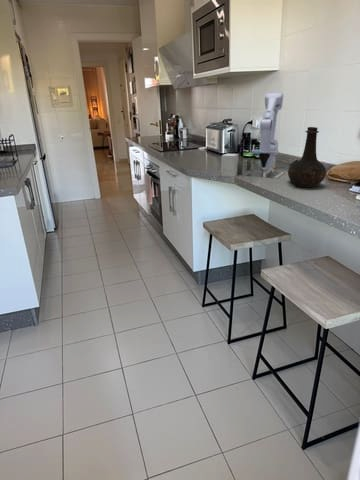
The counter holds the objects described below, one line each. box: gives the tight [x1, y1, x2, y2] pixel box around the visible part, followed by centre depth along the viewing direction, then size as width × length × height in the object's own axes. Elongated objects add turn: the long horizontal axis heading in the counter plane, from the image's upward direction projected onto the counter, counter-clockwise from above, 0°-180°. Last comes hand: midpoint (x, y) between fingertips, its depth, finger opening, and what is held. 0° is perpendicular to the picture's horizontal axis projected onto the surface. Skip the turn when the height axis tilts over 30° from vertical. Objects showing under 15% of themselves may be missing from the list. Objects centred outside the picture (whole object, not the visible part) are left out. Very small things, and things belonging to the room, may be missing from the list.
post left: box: [237, 161, 244, 176], centre depth 192 cm, size 2×2×8 cm
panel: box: [245, 168, 286, 180], centre depth 192 cm, size 17×18×4 cm
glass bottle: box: [287, 126, 327, 188], centre depth 166 cm, size 18×18×28 cm
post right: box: [245, 157, 252, 171], centre depth 203 cm, size 2×2×8 cm
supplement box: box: [221, 153, 239, 178], centre depth 191 cm, size 7×7×13 cm
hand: (263, 167), depth 191 cm, fingers closed
